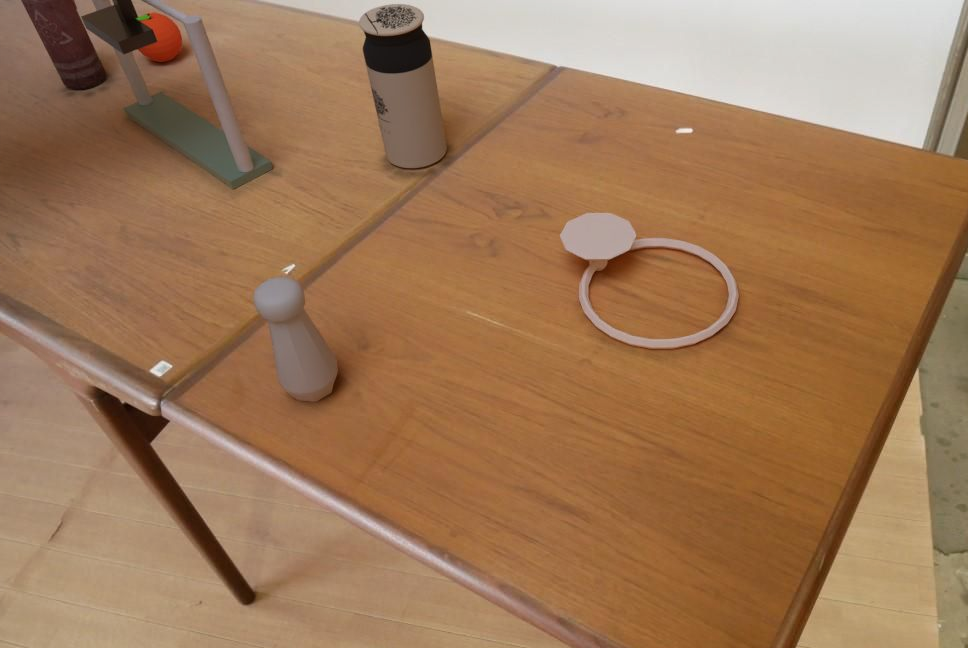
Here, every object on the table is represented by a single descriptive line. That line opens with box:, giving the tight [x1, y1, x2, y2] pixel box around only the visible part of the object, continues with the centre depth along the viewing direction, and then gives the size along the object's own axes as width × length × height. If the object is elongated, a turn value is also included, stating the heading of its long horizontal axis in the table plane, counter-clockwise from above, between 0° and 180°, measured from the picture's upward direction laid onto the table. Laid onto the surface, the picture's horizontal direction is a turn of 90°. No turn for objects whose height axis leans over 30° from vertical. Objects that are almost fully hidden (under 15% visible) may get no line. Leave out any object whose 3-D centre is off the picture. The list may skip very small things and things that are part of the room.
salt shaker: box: [252, 276, 339, 403], centre depth 78 cm, size 6×6×13 cm
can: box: [20, 0, 106, 91], centre depth 122 cm, size 6×6×14 cm
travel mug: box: [358, 3, 448, 169], centre depth 104 cm, size 8×8×18 cm
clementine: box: [136, 12, 183, 63], centre depth 128 cm, size 8×7×7 cm
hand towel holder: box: [559, 212, 740, 350], centre depth 89 cm, size 17×4×20 cm
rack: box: [91, 0, 274, 190], centre depth 107 cm, size 6×28×20 cm, turn 47°
